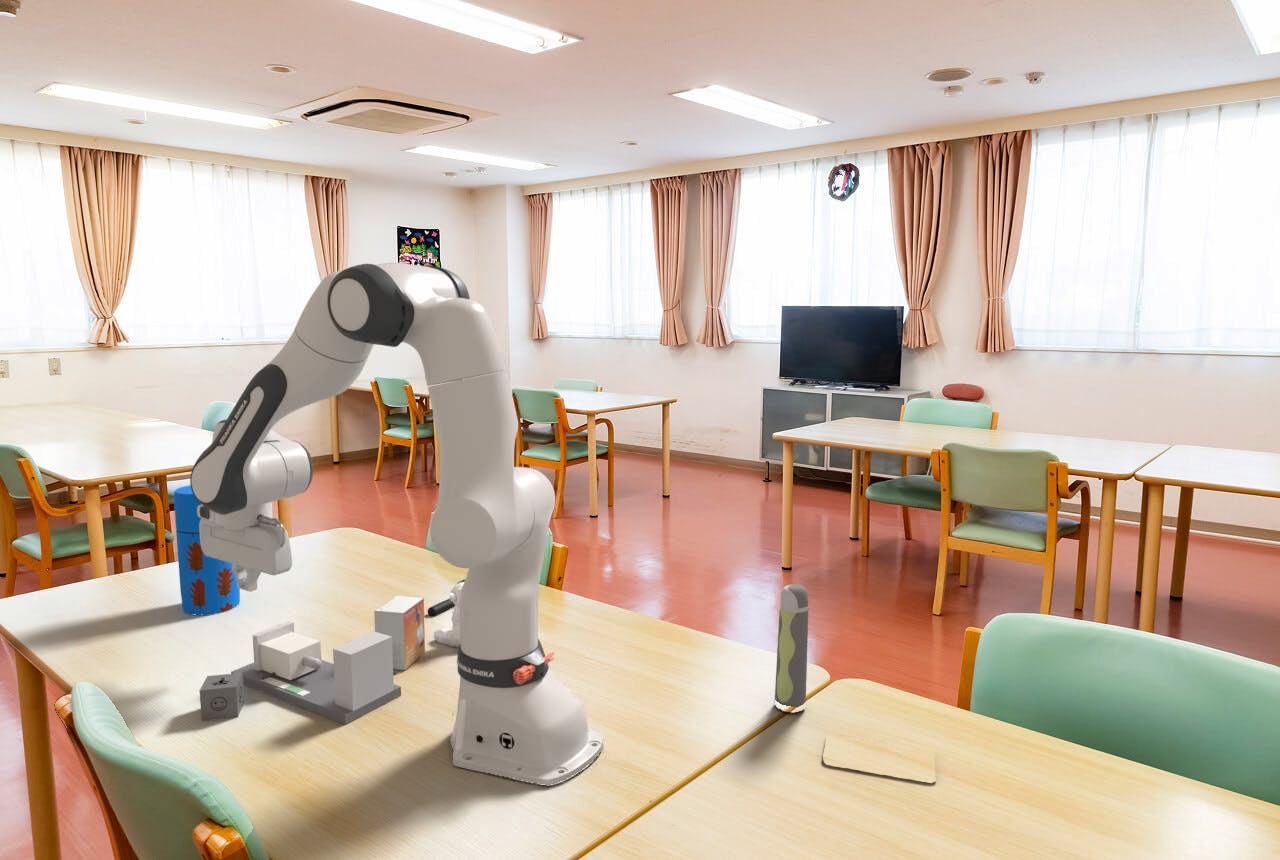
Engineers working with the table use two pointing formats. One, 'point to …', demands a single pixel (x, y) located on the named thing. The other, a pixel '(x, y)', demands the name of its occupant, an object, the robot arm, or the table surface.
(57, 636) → the table surface
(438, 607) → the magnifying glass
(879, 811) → the table surface
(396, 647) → the small box
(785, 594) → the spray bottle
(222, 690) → the dice cube
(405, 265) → the robot arm
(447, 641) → the white creature statuette
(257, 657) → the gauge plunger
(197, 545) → the thermos
